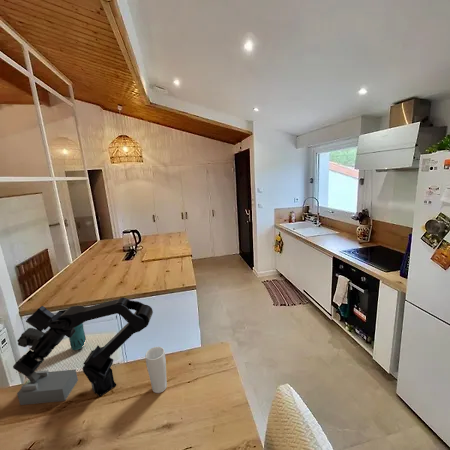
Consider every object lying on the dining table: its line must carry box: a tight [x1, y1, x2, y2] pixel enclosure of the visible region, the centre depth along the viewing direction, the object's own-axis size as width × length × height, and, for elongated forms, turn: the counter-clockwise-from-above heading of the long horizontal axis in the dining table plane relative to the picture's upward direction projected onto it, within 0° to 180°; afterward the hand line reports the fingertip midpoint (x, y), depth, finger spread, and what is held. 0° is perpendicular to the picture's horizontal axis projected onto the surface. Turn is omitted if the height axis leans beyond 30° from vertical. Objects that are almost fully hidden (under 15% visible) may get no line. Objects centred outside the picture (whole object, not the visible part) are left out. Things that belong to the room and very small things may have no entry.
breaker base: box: [16, 368, 79, 406], centre depth 92 cm, size 16×9×6 cm, turn 93°
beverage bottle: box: [68, 323, 87, 351], centre depth 114 cm, size 6×7×20 cm
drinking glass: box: [144, 346, 168, 394], centre depth 91 cm, size 7×7×15 cm
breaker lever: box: [17, 370, 40, 384], centre depth 91 cm, size 2×3×8 cm
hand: (27, 365), depth 90 cm, fingers closed, pressing on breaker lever
